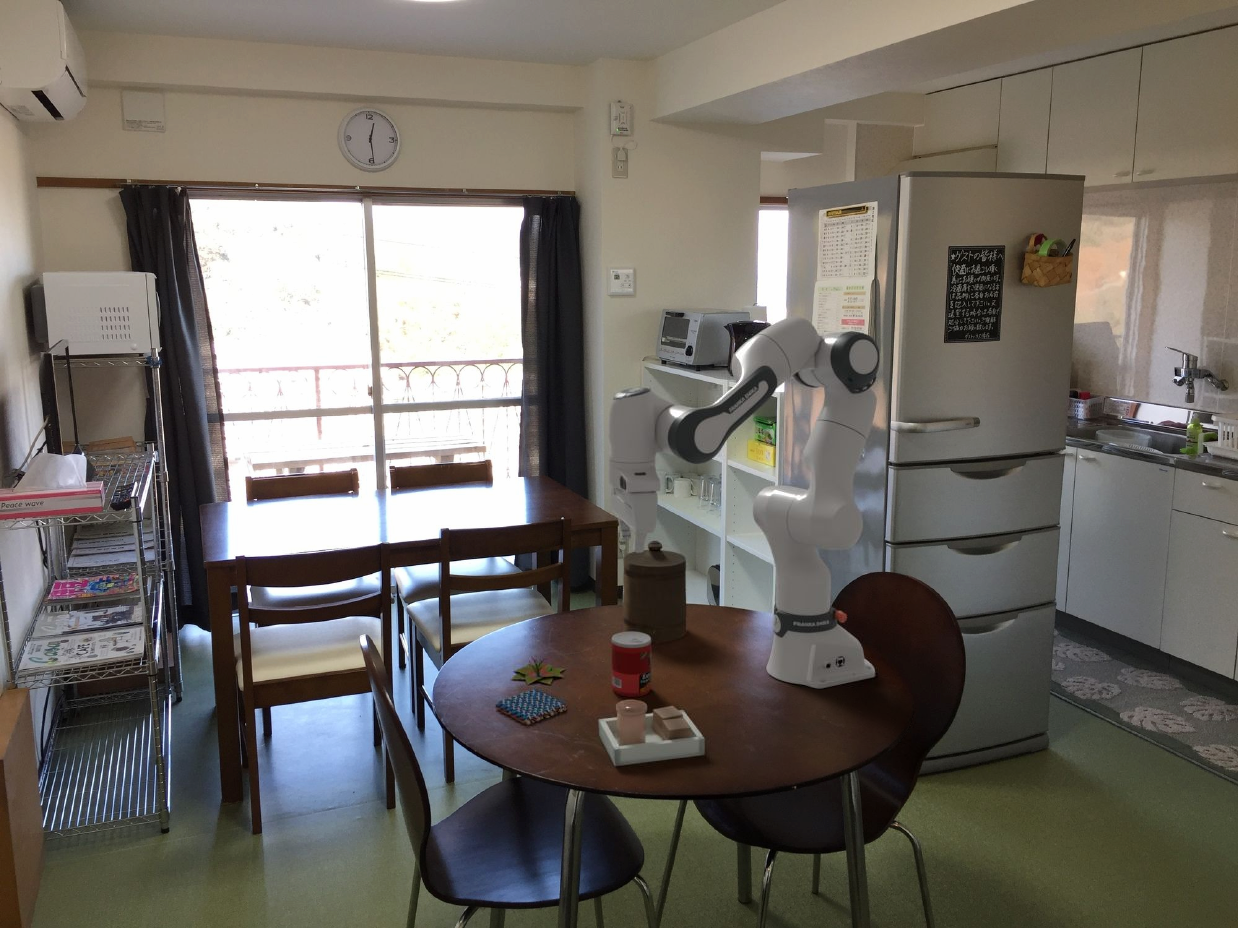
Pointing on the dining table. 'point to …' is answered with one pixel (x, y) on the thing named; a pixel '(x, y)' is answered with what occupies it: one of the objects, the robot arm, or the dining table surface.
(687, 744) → the tray
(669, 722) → the block
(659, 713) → the block
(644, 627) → the wooden container
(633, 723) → the pink lidded jar
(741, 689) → the dining table surface
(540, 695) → the woven mat
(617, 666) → the canned food
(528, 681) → the lily flower
